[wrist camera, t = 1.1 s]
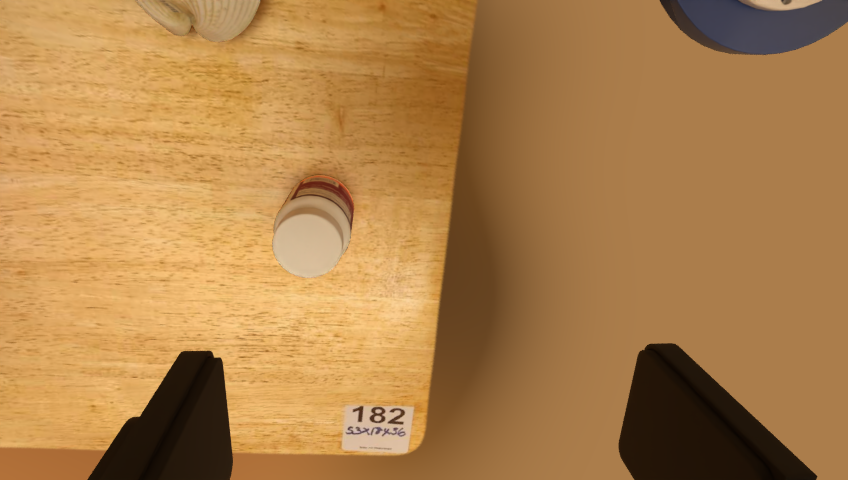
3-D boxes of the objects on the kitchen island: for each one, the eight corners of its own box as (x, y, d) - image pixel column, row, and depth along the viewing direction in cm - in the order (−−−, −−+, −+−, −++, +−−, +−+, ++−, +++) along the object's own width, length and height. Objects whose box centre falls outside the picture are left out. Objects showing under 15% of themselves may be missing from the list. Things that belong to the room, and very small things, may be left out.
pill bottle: (322, 248, 38) (308, 299, 30) (275, 203, 36) (247, 245, 29) (368, 207, 37) (365, 249, 29) (321, 159, 36) (306, 190, 28)
